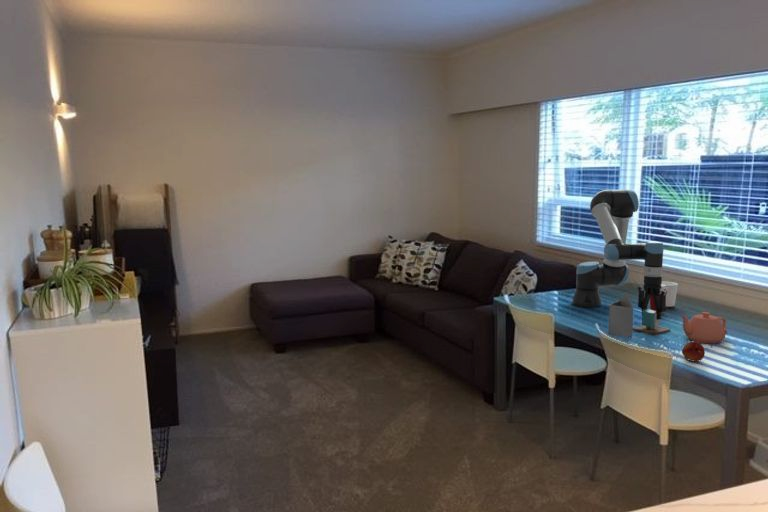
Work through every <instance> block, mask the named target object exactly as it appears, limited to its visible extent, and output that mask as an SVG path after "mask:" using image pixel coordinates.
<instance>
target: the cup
mask: <svg viewBox="0 0 768 512" xmlns="http://www.w3.org/2000/svg"><path fill="white" fill-rule="evenodd" d="M662 284H664V285H666V288H667V289H666V291H667V294H666V309H669V308H672V309H673V308H674V307H675V305H676V299H677V292H678V287H679V283H677V282H672V281H662Z"/></svg>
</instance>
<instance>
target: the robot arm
mask: <svg viewBox="0 0 768 512" xmlns="http://www.w3.org/2000/svg"><path fill="white" fill-rule="evenodd" d="M639 202H640V201H639V196H638V194H637V192H636V191H635V190H633V189H624V188H623V189H603V190H601V191H599V192H596V194H595V195H594V196H593V197H592V199H591V201H590V205H589V210H590V214H591V215H592V216H593V218H595V220H596V223H597V224H598V227H599V230H600V232H601V236H602V237H603V240H604V242H605V245H604V247H603V255H604V259H603V261H602V263H601V264H600V263H599V261H584V262H581V263H579V264H577V265H576V271H575V273H576V277H575V279H576V281H575V285H576V286H575V292H574V294H573V297H572V305H574V306H577V307H581V308H598V307H600V306H602V299H601V297H600V293H599V286H604V287H605V286H615V287H617V286H623V285H625V284H626V283H627V282H628V279H629V275H630V269H629V266H628V264H627V262H626V261H627V260H628V261H632V260H633V261H635V260H642V261H643V260H644V267H643V268H644V270H643V273H644V276H643V285H642V286H641V285H640V286H638V287H637V290H638V298H637V299H638V301H637V307H638V308H640V309H641V314H642V313H643V311H646V310H649V308H648V305H649V304H650V296H651V295H652V296H653V298H654V303H655V308H656V312H655V314H654V327H656V326H659V327H660V320H661V319H662V315H661V312H663V313H664V312H666V310H667V308H666V294H667V291H664V290H662V288H661V284H662V282H663V277H662V275H663V261H664V260H663V259H664V243H663V242H661V241H655V240H654V241H652V240H651V241H646V242H638V243H627V236H628V232H629V231H628V228H629V222H630V219H631V218H633V217H634V213H636V212H638V210H639V207H640V203H639ZM625 260H626V261H625ZM659 293H660V294H661V295H659ZM659 297H660V299H659Z"/></svg>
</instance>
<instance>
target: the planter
mask: <svg viewBox="0 0 768 512" xmlns="http://www.w3.org/2000/svg"><path fill="white" fill-rule="evenodd" d="M608 308H609V309H608V332H609V333H608V334H610V333H612V334H611V335H614V334H615V335H614V336H619V337H624V338H629V337H630V338H631V339H632V338H633V333H634V332H633V331H634V330H633V327H634V306H633V303H632V300H631V299H630V295H629V293H628V291H626V292H625V293H624V294H623V295H622V297H621V298H620V299H618V300H617V301H615V302H611V303H610V304H609V306H608Z"/></svg>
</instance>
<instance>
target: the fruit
mask: <svg viewBox="0 0 768 512" xmlns="http://www.w3.org/2000/svg"><path fill="white" fill-rule="evenodd" d="M705 351H706V350H705V348H704V346H703V343H699V342H695V341H689V342H687V343H686V344H685V345H684V346H683V347H682V349H681V353H682V355H683V357H684V358H685V360H687V359H690V360H694V361H693V362H700V361H701V360H703V359H704V358H705V356H706V355H705V354H706V352H705ZM699 360H700V361H699Z"/></svg>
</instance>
